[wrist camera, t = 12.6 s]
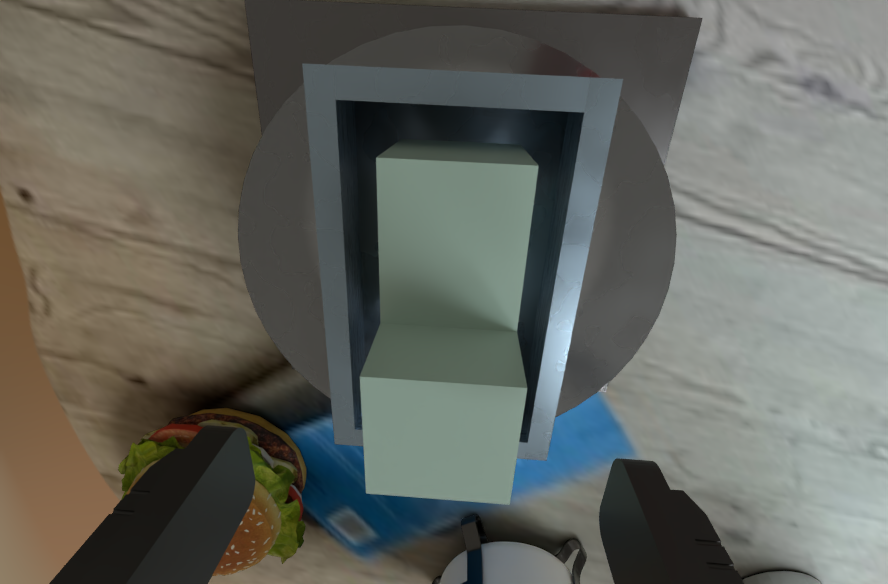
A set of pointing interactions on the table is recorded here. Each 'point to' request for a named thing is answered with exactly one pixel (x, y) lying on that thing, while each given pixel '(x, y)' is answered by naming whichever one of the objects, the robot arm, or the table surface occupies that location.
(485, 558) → the coffee press
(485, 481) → the sage green stepped block
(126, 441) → the table surface
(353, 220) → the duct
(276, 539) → the food
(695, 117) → the table surface
